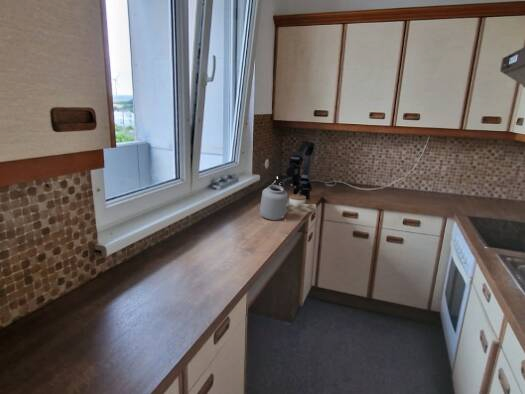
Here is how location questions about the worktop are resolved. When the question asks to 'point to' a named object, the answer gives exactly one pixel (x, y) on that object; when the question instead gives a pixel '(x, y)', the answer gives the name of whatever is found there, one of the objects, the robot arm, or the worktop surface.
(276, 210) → the jar
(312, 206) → the board
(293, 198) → the lidded jar
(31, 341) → the worktop surface
